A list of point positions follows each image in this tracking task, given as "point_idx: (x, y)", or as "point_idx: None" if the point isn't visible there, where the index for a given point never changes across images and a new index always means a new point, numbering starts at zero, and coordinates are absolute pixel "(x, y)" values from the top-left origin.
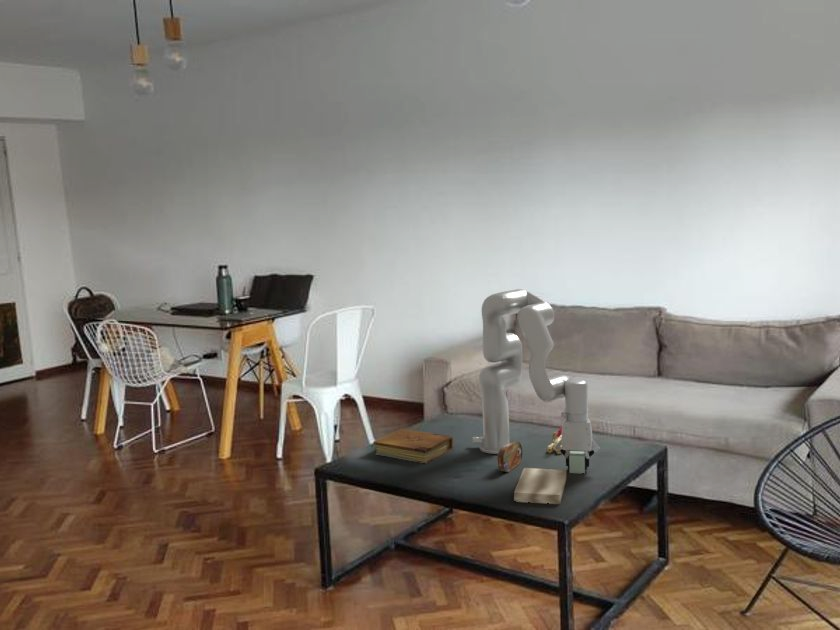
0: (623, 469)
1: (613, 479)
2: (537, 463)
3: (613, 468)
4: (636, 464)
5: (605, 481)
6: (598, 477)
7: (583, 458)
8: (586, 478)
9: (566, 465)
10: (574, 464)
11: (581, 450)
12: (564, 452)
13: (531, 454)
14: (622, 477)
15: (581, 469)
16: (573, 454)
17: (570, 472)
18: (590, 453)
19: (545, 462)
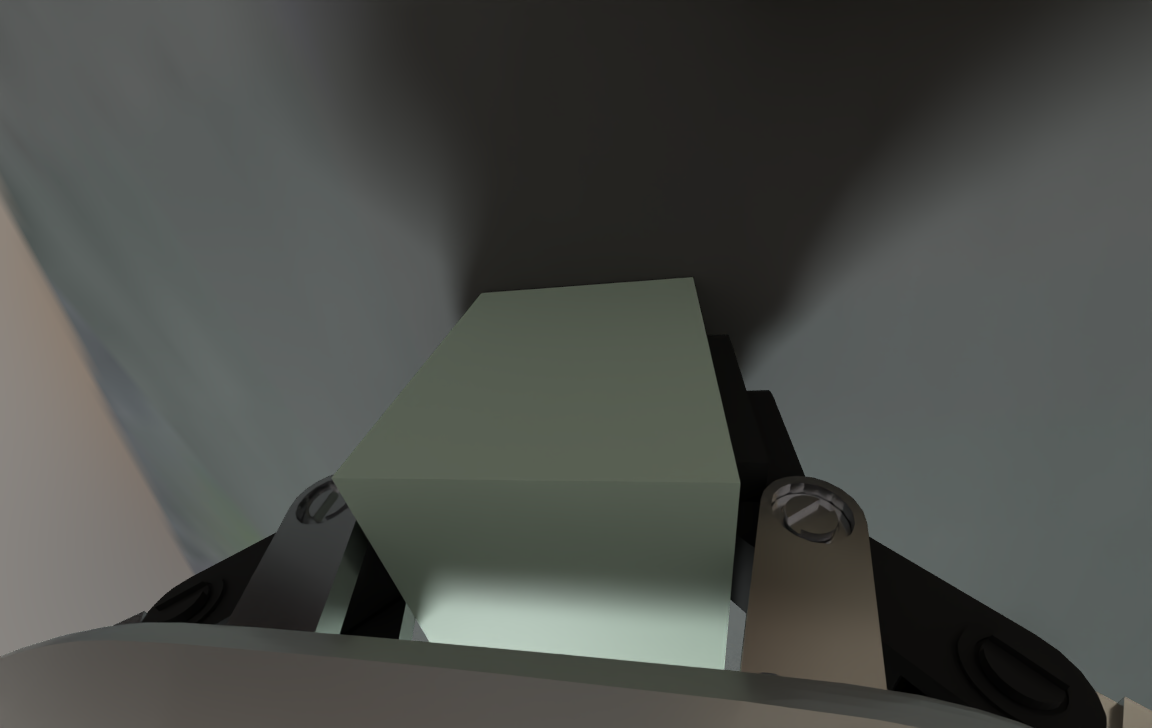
0: (203, 463)
1: (65, 163)
2: (1148, 526)
3: (286, 474)
4: (198, 552)
5: (77, 32)
6: (261, 191)
7: (380, 439)
8: (385, 91)
9: (759, 392)
10: (606, 351)
11: (246, 652)
12: (905, 629)
13: (1123, 695)
14: (48, 263)
15: (505, 315)
16: (629, 564)
17: (678, 281)
18: (242, 585)
19: (1012, 554)
